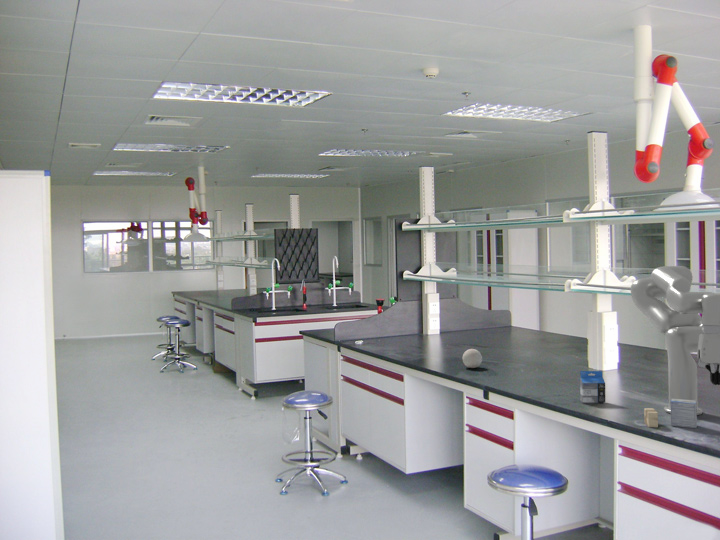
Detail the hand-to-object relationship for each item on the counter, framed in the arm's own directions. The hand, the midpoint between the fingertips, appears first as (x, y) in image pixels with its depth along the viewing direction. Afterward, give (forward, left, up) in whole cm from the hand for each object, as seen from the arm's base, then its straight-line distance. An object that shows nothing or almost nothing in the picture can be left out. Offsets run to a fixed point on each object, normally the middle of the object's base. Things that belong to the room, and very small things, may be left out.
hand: (715, 384), depth 217 cm
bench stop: (0, -21, -15) cm, 25 cm away
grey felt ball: (-102, -84, -15) cm, 133 cm away
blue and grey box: (-31, -35, -15) cm, 49 cm away
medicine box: (0, -10, -15) cm, 18 cm away
